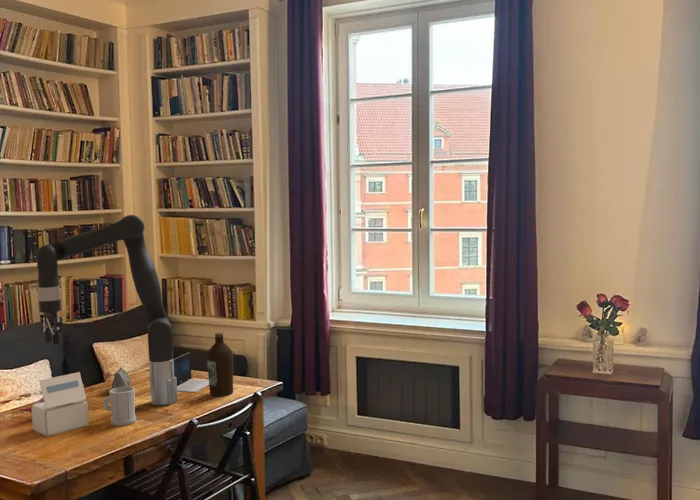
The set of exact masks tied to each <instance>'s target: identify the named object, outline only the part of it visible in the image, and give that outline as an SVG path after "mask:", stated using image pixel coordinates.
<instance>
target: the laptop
mask: <svg viewBox="0 0 700 500" xmlns="http://www.w3.org/2000/svg"><path fill="white" fill-rule="evenodd" d="M191 358H192V357H191V352H190V351H189V352H187V353H184V354H182V355H180V356H178V357H176V358H173V361H174V377H176V378H177V393H178V392H180V393H197V392H199V391H201V390H202V389H204V388H206V387H208V386H209V379H198V378H197V379H196V378H195V379H194V378H192V361H191Z"/></svg>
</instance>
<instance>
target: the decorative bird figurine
mask: <svg viewBox="0 0 700 500" xmlns="http://www.w3.org/2000/svg"><path fill="white" fill-rule="evenodd" d="M42 402H44V399H43V397H41V398H40V399H39V400H37V401H35V402H34V403H33V404H37V403H42ZM33 404H31V406H33ZM31 406H30V407H28V408H27V407H25V408H20V409H18V411H19V412H28V413H31Z"/></svg>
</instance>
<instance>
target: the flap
mask: <svg viewBox="0 0 700 500" xmlns="http://www.w3.org/2000/svg"><path fill="white" fill-rule="evenodd" d="M83 384H84V382H83V380H82V377H81V372H80V371H78V372H77V371H76V372H74V373H68V374H63V375H58V376H54V377H49V378H48V377H47V378H44V379H40V380H39V385H40V390H41V394H42V398H43V399H44V403H45V407H46V409H48V408H52V407H56V406H60V405H64V404H68V403H73V402H77V401H81V400H85V401H86V400H87V396H86V392H85V391H86V390H85V391H84V387H85V386H84V387H83Z"/></svg>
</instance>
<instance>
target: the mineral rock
mask: <svg viewBox="0 0 700 500" xmlns="http://www.w3.org/2000/svg"><path fill="white" fill-rule="evenodd" d="M130 385H131V378H130V375H129V373H128V372H127V371H126V370H124V368H123V367H119V369H118V370H116V372H115V373H114V376H113V381H112V385H111V389H114V388H118V387H127V386H128V387H130Z"/></svg>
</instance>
